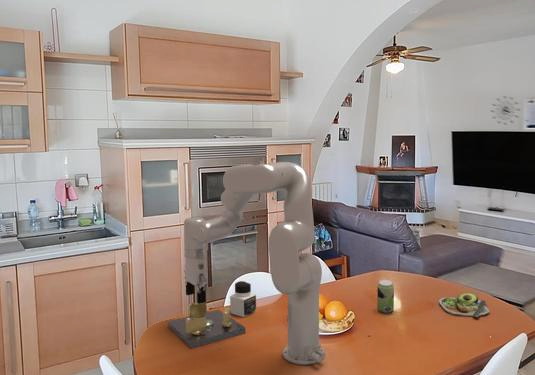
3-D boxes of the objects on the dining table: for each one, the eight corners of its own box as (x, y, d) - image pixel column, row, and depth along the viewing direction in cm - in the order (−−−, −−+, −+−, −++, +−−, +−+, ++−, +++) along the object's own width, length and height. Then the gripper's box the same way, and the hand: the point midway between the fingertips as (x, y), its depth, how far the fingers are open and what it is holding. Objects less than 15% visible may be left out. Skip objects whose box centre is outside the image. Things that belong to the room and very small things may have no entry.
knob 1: (207, 332, 153) (206, 315, 152) (189, 337, 150) (188, 320, 149) (202, 329, 156) (202, 312, 155) (185, 333, 152) (184, 316, 152)
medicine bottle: (244, 318, 170) (243, 286, 169) (230, 313, 175) (229, 283, 173) (256, 312, 176) (256, 281, 175) (242, 308, 180) (241, 278, 179)
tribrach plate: (245, 333, 157) (245, 322, 157) (191, 348, 147) (191, 337, 146) (218, 314, 174) (218, 305, 174) (168, 327, 163) (167, 317, 163)
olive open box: (207, 316, 166) (207, 301, 166) (191, 320, 163) (190, 305, 162) (203, 313, 169) (203, 298, 168) (187, 317, 166) (186, 302, 165)
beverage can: (392, 307, 178) (392, 277, 177) (395, 315, 171) (396, 284, 170) (375, 307, 179) (376, 277, 177) (378, 314, 172) (378, 283, 170)
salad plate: (499, 322, 164) (500, 309, 164) (447, 320, 167) (448, 307, 166) (482, 302, 184) (482, 291, 183) (435, 300, 186) (436, 289, 185)
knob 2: (232, 321, 162) (231, 305, 161) (230, 328, 156) (230, 312, 155) (223, 321, 162) (222, 305, 161) (221, 328, 156) (220, 312, 155)
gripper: (215, 256, 158) (216, 304, 160) (194, 245, 173) (195, 289, 175) (195, 259, 154) (196, 308, 156) (175, 248, 168) (176, 293, 171)
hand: (195, 298), depth 165 cm, fingers open, 9 cm apart
